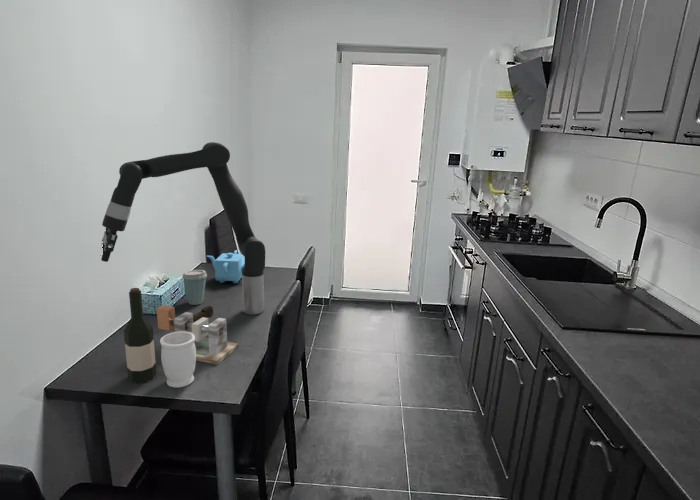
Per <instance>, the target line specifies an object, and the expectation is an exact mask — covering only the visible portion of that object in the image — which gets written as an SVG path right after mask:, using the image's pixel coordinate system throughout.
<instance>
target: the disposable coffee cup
mask: <svg viewBox="0 0 700 500" xmlns="http://www.w3.org/2000/svg"><path fill="white" fill-rule="evenodd" d="M207 277H208V274H207V272H206V270H204V269H194V270H193V269H192V270H191V269H190V270H188V271H185V272H183V273H182V278H183V283H184V289H185V293H186V299H187V303H188V304H189V305H193V306H197V305H202V303H203V302H204V297H205V291H206V284H207V283H206V281H207Z"/></svg>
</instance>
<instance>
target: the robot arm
mask: <svg viewBox="0 0 700 500" xmlns="http://www.w3.org/2000/svg"><path fill="white" fill-rule="evenodd" d="M230 158H231V154H230V150H229V148H228V147H227V146H226V145H224V144H222V143H219V142H211V141H210V142H207V143H205V144H204V145H203V146H202V148H201V149H200V150H199V149H198V150H196V151H190V152H184V153H175V154H166V155H162V156H156V157H152V158H148V159H143V160H142V159H141V160H134V161H127V162H125V163H123V164H121V166H120V167H119V171H118V173H119V179H118V182H117V185H116V187H115V188H114V189H113V192H112V194H111V199H110V201H109V203H108V205H107V208H106V211H105V214H104V217H103V220H102V222H101V225H102V227H103V228H105V230H106V231H105V230H104V233H103V236H102V240H101V245H102V244H103V247H102V248H103V255H102V256H101V261H102V262H104V263H105V262H106V263H108V262H109V261H110V257H111V254H112V252H113V251H114V250H115V245H116V243H117V240H118V236H119V235H118V234H117V233H118V232H124V231H125V230H126V227H127V223H128V220H129V217H130V214H131V210H132V206H133V202H134V200H135V196H136V193H137V192H138V190H139V187H140V185H141V182H142V180H143V179H148V178H160V177H165V176H169V175H173V174H178V173H180V172H181V173H182V172H186V171H189V170H196V169H201V168H206V169H207V170H208V171H209V174H210V176H211V178H212V180H213V183H214V186H215V189H216V192H217V194H218V198H219V199H220V203H221V205H222V207H223V211H224V213H225V215H226V217H227V219H228V222H229V224H230V225H231V228H232V230H233V232H234V235H235V239H236V244H237V247H238V250H239V251H240V254H242V255H243V256H245V265H244V267H243V268H242V279H241V281H242V283H241V287H242V313H244V314H247V315H259V314H262V313H264V311H265V288H264V287H265V285H264V283H265V282H264V280H265V279H264V271H265V267H266V247H265V244H264V242H262V240H259V239H258V238H257V237H256V235H255V233H254V231H253V230H252V228H251V225H250V220H249V209H248V206H247V202H246V200H245V197H244V194H243V192H242V190H241V188H240V187H239V185H238V184H237V182H236V181H235V179H234V178H233V176H232V175H231V173H230V169H229V167H228V165H227V163H229V161H230ZM102 241H103V243H102Z"/></svg>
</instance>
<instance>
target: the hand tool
mask: <svg viewBox="0 0 700 500" xmlns="http://www.w3.org/2000/svg"><path fill="white" fill-rule="evenodd" d="M213 315H214V308H213V306H211V305H208V306H206V307H203V308H201V311H199V312H198V313H195V314H193V323H194V322H196V321H197V320H199V319H201V318H202V317H205V318H208V319H209V318H210V317H212V316H213Z"/></svg>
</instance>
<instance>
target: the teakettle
mask: <svg viewBox="0 0 700 500" xmlns="http://www.w3.org/2000/svg"><path fill="white" fill-rule="evenodd" d="M206 257H207V258H209V259H210V260H211V264H212V267H213V269H214V270H215V271H214V273H215V275H214V276H215V281H218V282H219V283H220V284H223V283H225V282H232V283H233V284H239V282H240V280H242V279H241V278H242V268H243V267H244V265H245V256H243V255H242V254H241V253H238V250H237V249H236V250H234V252H227V253H225V252H224V253H221V254H220V255H219V256H218V257H217V258H216V259H215V257H214V256H213V255H206Z"/></svg>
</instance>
